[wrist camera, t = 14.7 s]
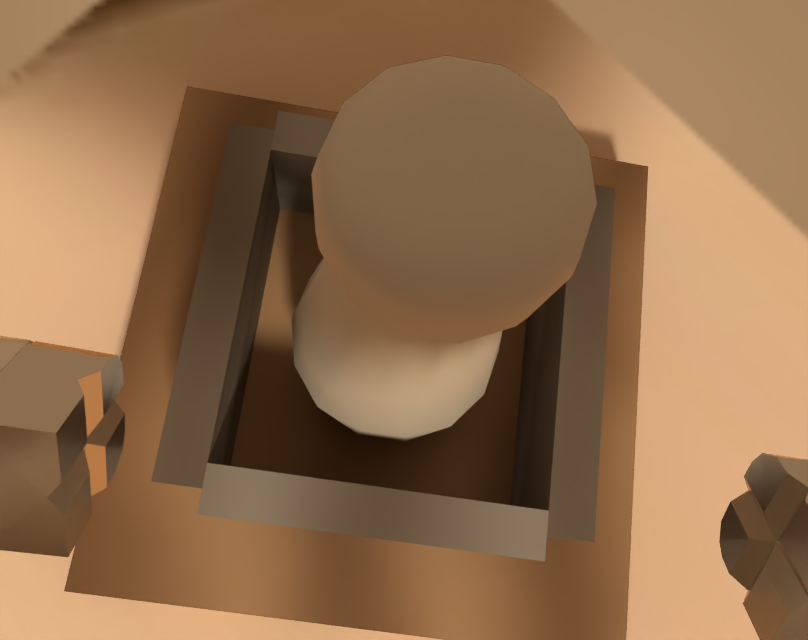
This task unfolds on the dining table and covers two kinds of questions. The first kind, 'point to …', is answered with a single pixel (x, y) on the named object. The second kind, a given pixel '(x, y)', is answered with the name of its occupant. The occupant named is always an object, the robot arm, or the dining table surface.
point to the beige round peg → (435, 240)
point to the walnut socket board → (343, 448)
